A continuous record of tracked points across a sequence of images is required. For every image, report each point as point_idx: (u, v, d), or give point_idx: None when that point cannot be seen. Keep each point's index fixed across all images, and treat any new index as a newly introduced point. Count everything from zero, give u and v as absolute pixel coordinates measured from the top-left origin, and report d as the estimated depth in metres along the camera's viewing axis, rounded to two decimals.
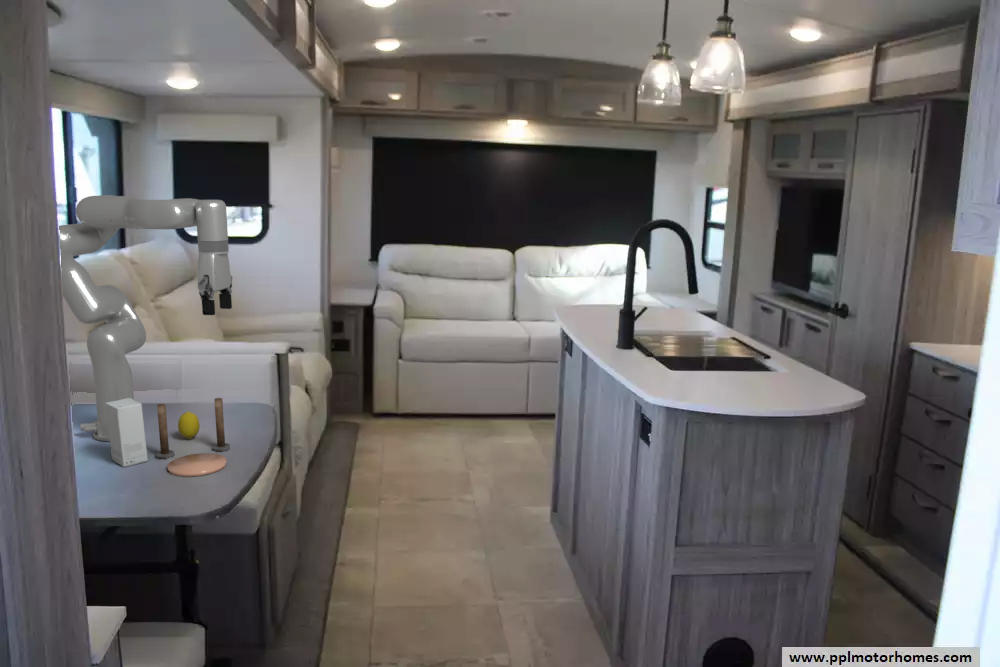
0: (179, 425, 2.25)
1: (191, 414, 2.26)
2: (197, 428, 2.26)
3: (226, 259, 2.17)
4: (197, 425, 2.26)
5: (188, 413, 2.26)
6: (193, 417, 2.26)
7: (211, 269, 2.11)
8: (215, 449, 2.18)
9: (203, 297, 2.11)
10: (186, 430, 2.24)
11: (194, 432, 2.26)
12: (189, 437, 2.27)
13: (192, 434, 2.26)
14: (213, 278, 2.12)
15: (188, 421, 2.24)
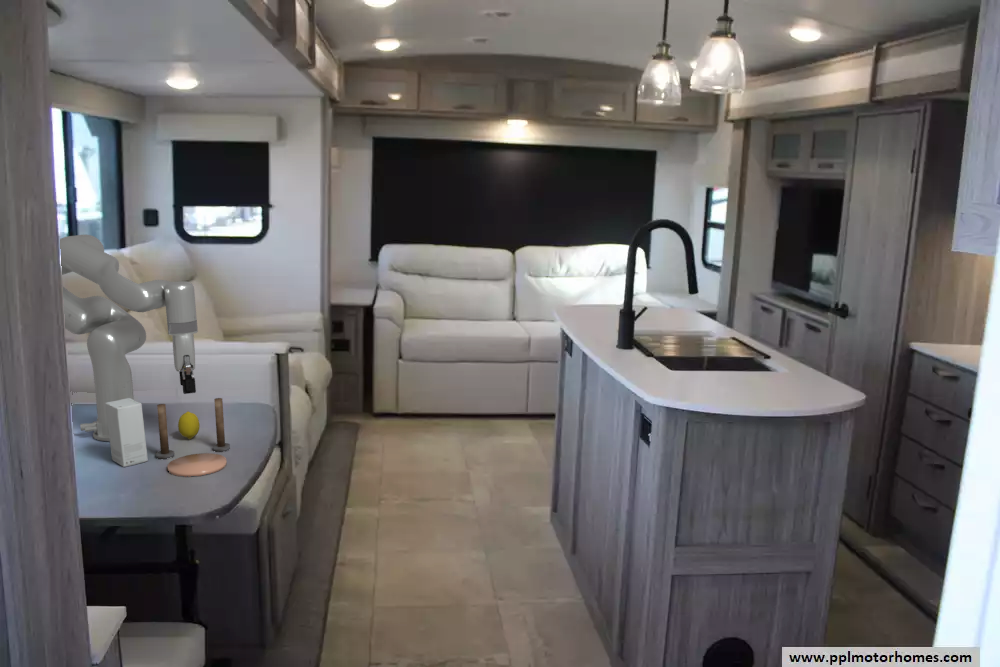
0: (179, 425, 2.25)
1: (191, 414, 2.26)
2: (197, 428, 2.26)
3: None
4: (197, 425, 2.26)
5: (188, 413, 2.26)
6: (193, 417, 2.26)
7: (191, 349, 2.19)
8: (215, 449, 2.18)
9: (187, 377, 2.18)
10: (186, 430, 2.24)
11: (194, 432, 2.26)
12: (189, 437, 2.27)
13: (192, 434, 2.26)
14: (193, 357, 2.19)
15: (188, 421, 2.24)
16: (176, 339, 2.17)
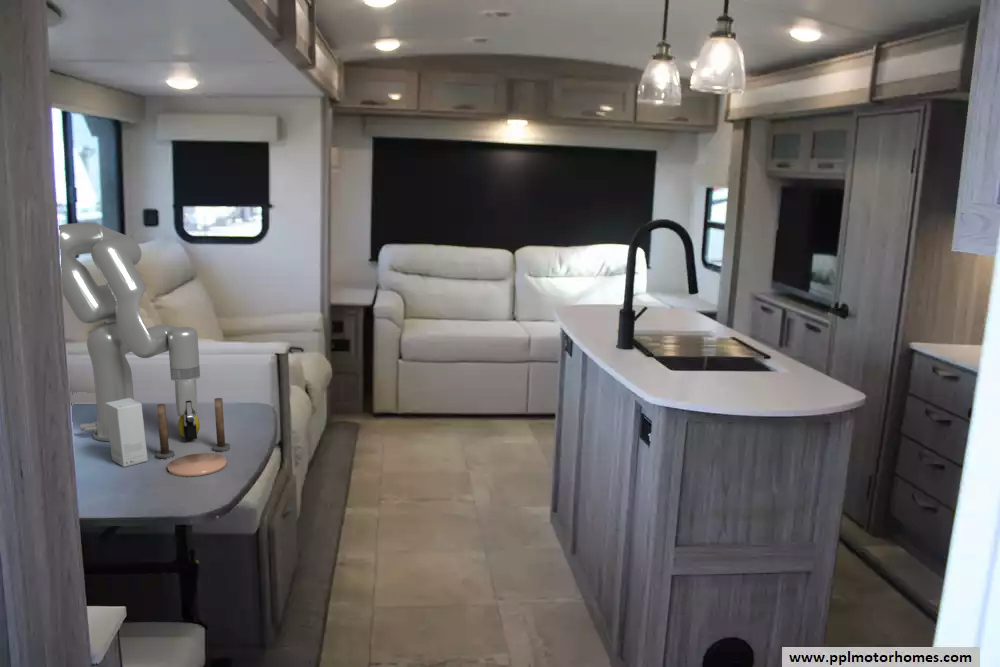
0: (179, 425, 2.25)
1: None
2: (197, 428, 2.26)
3: None
4: (197, 425, 2.26)
5: None
6: None
7: (193, 394, 2.21)
8: (215, 449, 2.18)
9: (189, 424, 2.22)
10: None
11: None
12: None
13: None
14: (195, 403, 2.22)
15: None
16: (179, 385, 2.20)
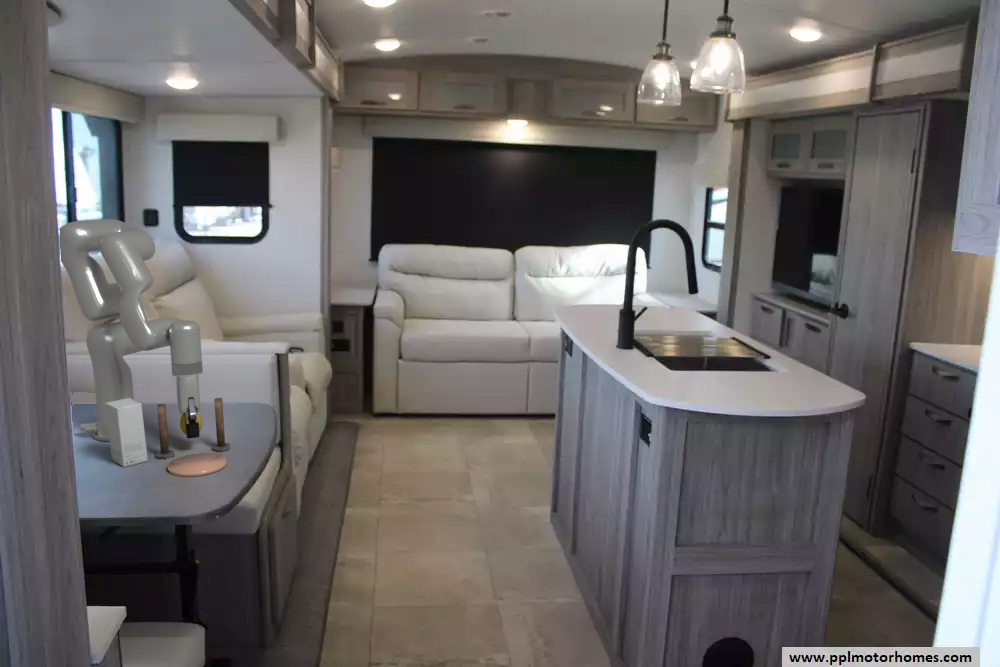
0: (181, 423, 2.16)
1: None
2: (200, 426, 2.17)
3: None
4: (200, 423, 2.17)
5: None
6: None
7: (196, 391, 2.12)
8: (215, 449, 2.18)
9: (191, 421, 2.13)
10: None
11: None
12: None
13: None
14: (198, 399, 2.13)
15: None
16: (181, 381, 2.11)
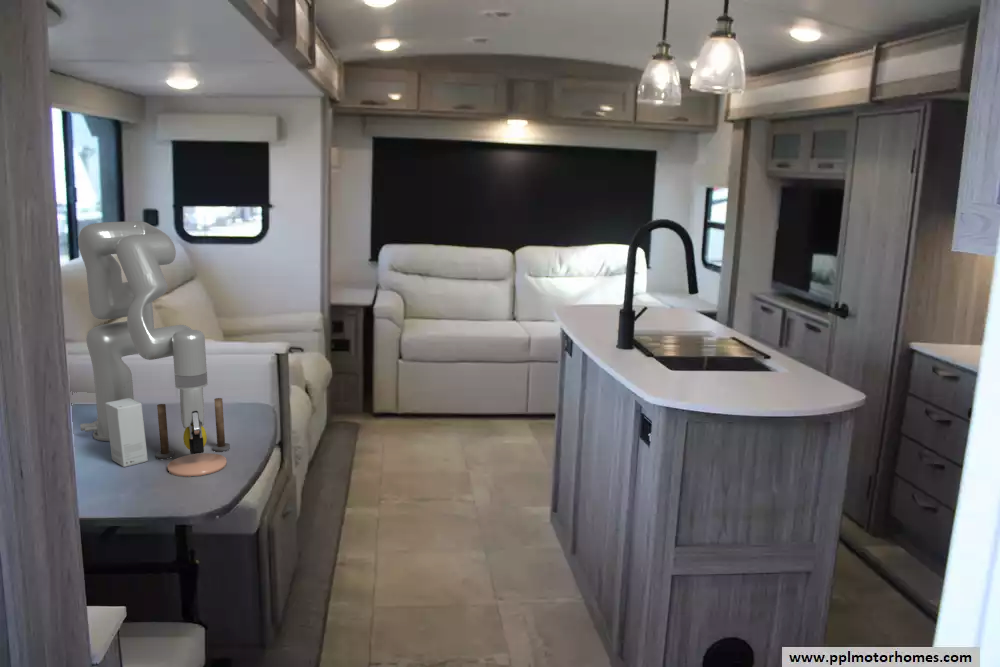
0: (184, 437, 2.05)
1: None
2: (204, 441, 2.06)
3: None
4: (204, 437, 2.06)
5: None
6: None
7: (200, 404, 2.01)
8: (215, 449, 2.18)
9: (195, 436, 2.02)
10: None
11: None
12: None
13: None
14: (202, 413, 2.02)
15: None
16: (184, 394, 2.00)
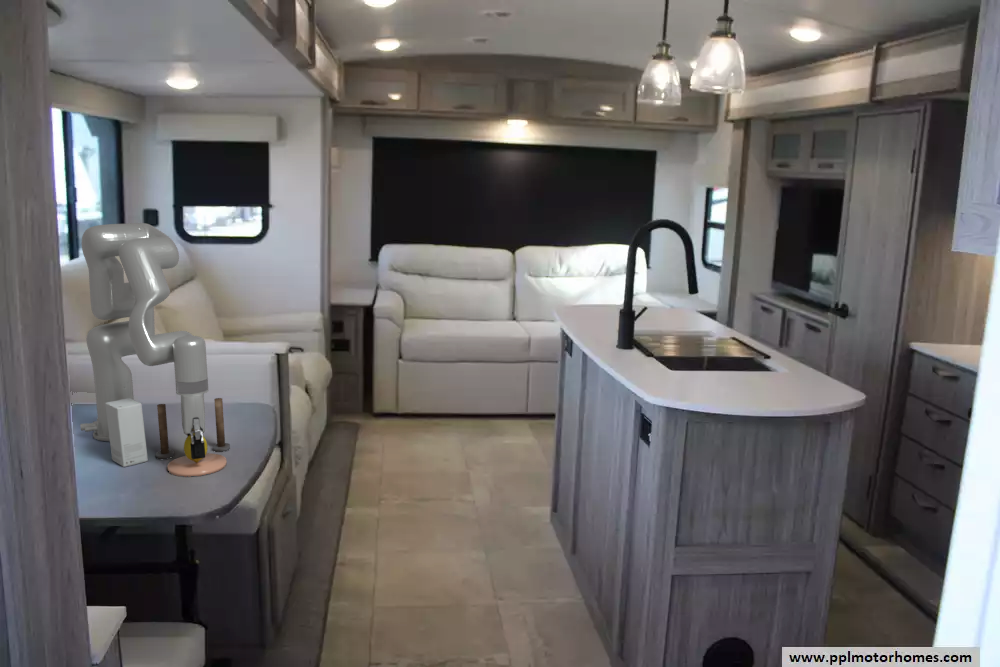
0: (185, 447, 2.04)
1: None
2: (205, 450, 2.06)
3: None
4: (205, 447, 2.06)
5: None
6: None
7: (201, 410, 2.00)
8: (215, 449, 2.18)
9: (196, 441, 2.00)
10: None
11: None
12: (196, 461, 2.06)
13: None
14: (203, 419, 2.01)
15: None
16: (185, 400, 1.99)
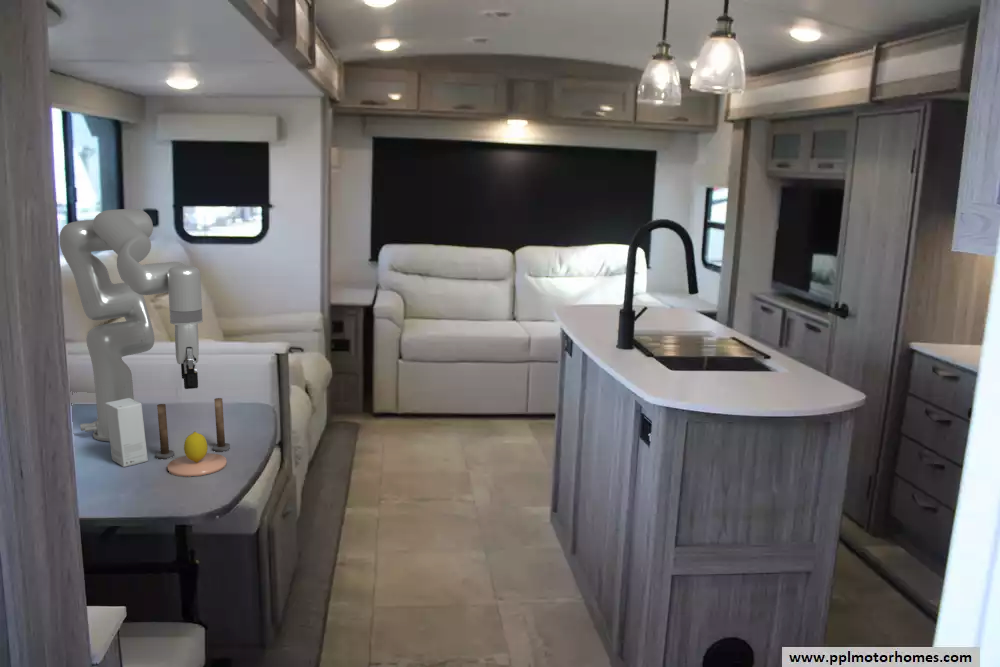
0: (185, 447, 2.04)
1: (198, 435, 2.05)
2: (205, 450, 2.06)
3: None
4: (205, 447, 2.06)
5: (195, 434, 2.05)
6: (201, 438, 2.05)
7: (194, 340, 2.00)
8: (215, 449, 2.18)
9: (189, 371, 1.99)
10: (193, 452, 2.04)
11: (202, 455, 2.05)
12: (196, 461, 2.06)
13: (199, 457, 2.05)
14: (197, 349, 2.01)
15: (196, 443, 2.04)
16: (179, 329, 1.98)
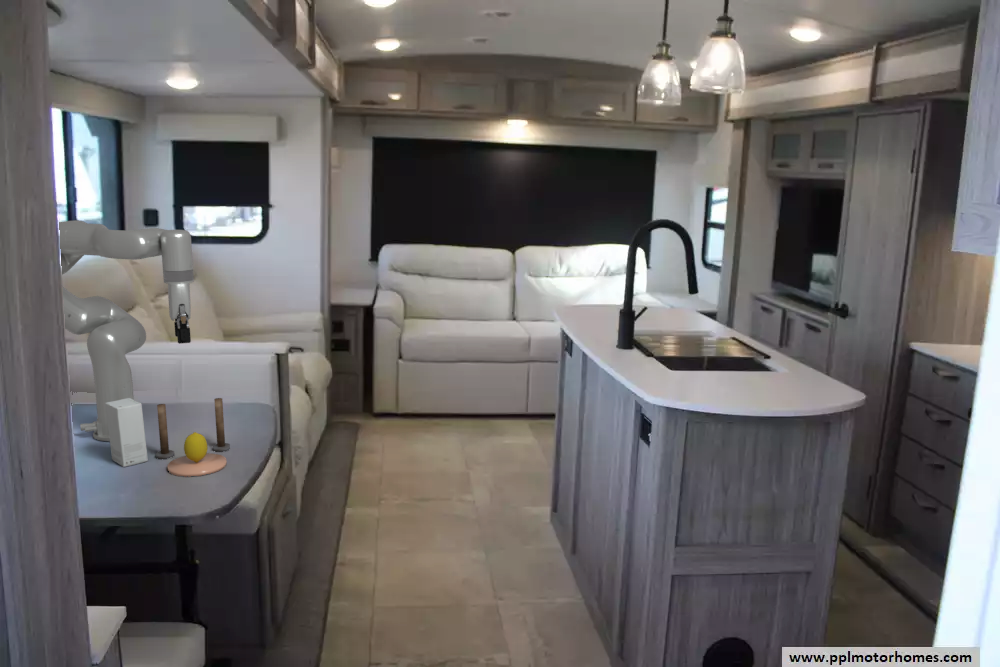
0: (185, 447, 2.04)
1: (198, 435, 2.05)
2: (205, 450, 2.06)
3: None
4: (205, 447, 2.06)
5: (195, 434, 2.05)
6: (201, 438, 2.05)
7: (187, 298, 2.16)
8: (215, 449, 2.18)
9: (182, 326, 2.15)
10: (193, 453, 2.04)
11: (202, 455, 2.05)
12: (196, 461, 2.06)
13: (199, 457, 2.05)
14: (189, 306, 2.17)
15: (196, 443, 2.04)
16: (172, 287, 2.14)
